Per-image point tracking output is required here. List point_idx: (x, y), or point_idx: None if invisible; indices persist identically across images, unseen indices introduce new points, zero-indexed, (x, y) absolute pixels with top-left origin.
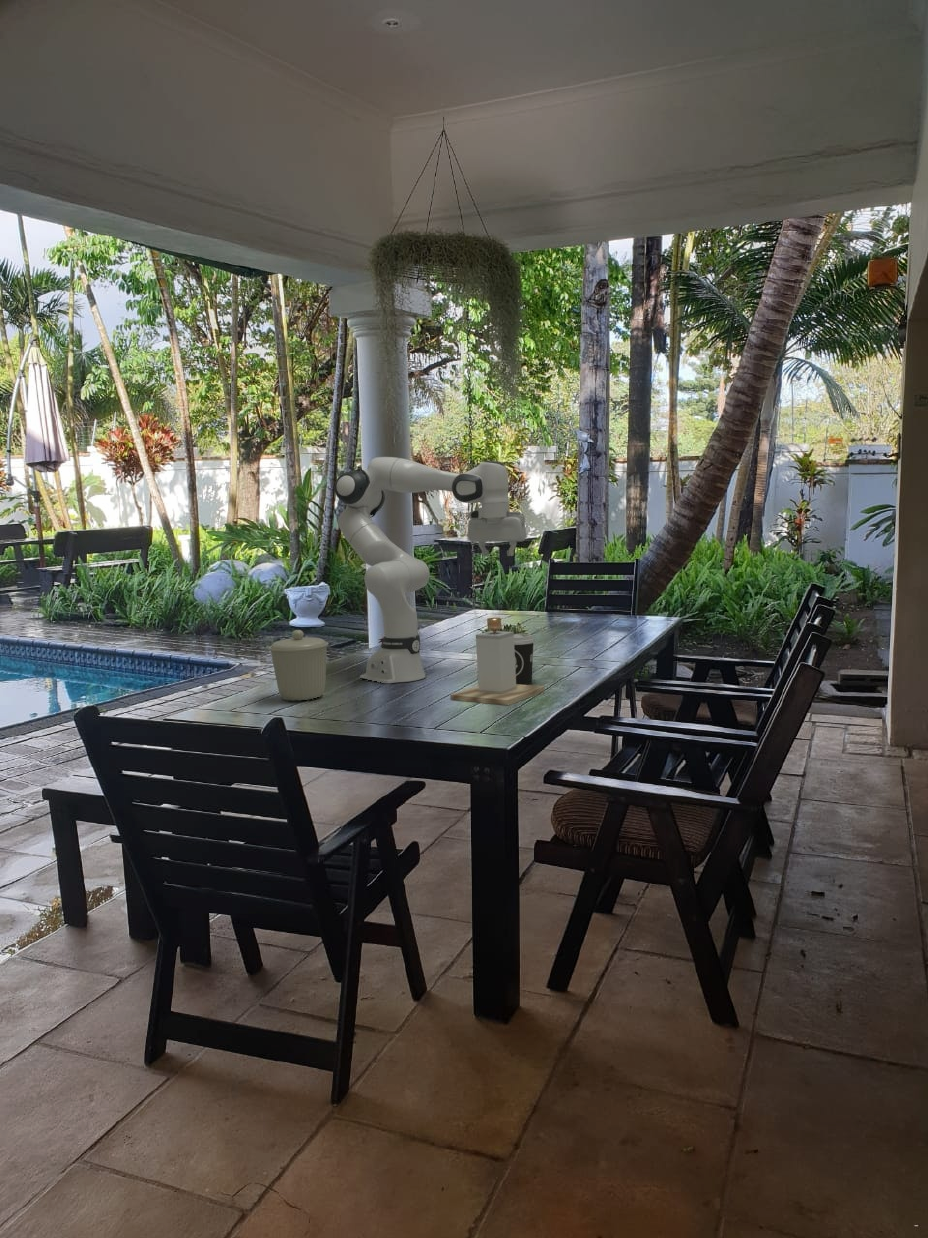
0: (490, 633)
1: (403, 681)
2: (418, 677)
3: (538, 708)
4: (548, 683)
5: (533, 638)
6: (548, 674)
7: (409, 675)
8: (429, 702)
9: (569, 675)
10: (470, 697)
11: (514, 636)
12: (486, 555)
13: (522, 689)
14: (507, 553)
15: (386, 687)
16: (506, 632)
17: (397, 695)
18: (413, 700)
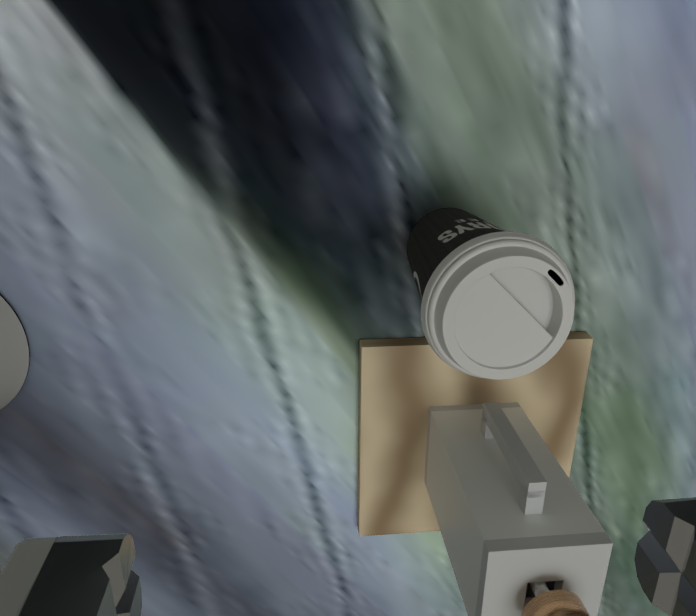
0: (524, 601)
1: (4, 405)
2: (22, 357)
3: (647, 504)
4: (546, 211)
5: (570, 280)
6: (470, 40)
7: (5, 396)
8: (318, 566)
9: (569, 28)
10: (432, 529)
11: (483, 327)
12: (141, 603)
13: (541, 402)
14: (668, 609)
15: (18, 480)
16: (586, 564)
17: (157, 544)
18: (256, 568)
